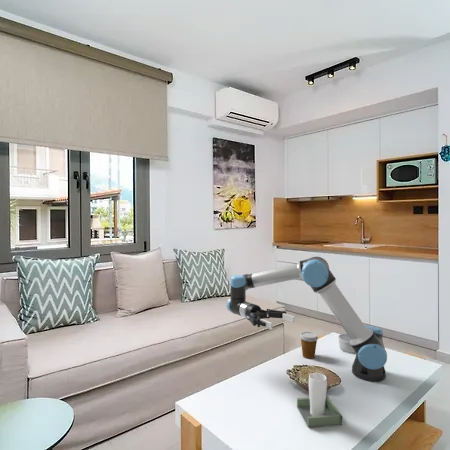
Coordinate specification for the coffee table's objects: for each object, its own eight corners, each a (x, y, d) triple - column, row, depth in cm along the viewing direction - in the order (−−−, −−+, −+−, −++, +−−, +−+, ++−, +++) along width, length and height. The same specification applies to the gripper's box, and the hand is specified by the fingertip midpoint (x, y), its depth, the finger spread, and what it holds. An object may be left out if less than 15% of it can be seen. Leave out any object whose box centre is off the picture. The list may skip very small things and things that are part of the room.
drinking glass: (305, 409, 132) (306, 372, 131) (322, 409, 132) (323, 372, 132) (311, 420, 125) (312, 381, 125) (328, 419, 126) (329, 380, 125)
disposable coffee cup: (318, 360, 176) (318, 338, 175) (299, 359, 178) (300, 337, 177) (317, 353, 185) (317, 332, 185) (299, 351, 187) (299, 330, 187)
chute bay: (327, 404, 136) (327, 396, 136) (342, 425, 123) (342, 415, 123) (296, 406, 135) (296, 398, 135) (308, 427, 122) (308, 418, 122)
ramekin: (366, 349, 191) (366, 337, 190) (357, 356, 181) (357, 344, 181) (344, 343, 200) (344, 331, 199) (334, 349, 190) (334, 337, 190)
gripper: (269, 314, 169) (302, 325, 152) (230, 324, 154) (262, 338, 137) (269, 299, 168) (302, 309, 151) (230, 308, 154) (261, 320, 137)
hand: (283, 323), depth 144 cm, fingers open, 13 cm apart
